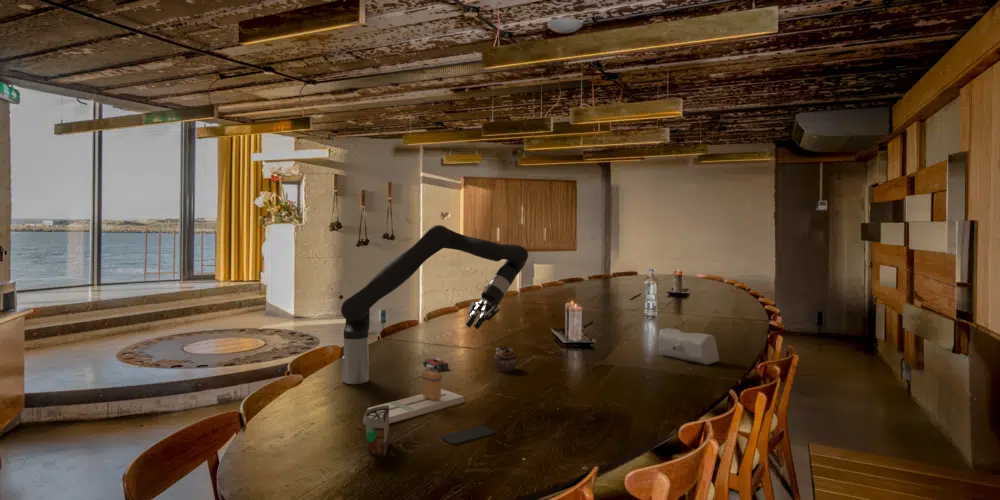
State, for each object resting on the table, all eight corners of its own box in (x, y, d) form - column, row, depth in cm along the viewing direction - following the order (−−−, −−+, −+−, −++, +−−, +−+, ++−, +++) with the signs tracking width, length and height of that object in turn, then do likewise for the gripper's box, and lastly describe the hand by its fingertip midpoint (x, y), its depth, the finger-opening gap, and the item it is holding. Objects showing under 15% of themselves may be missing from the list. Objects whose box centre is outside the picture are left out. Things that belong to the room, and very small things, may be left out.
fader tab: (430, 393, 190) (430, 370, 189) (441, 397, 185) (441, 373, 185) (422, 396, 187) (422, 372, 187) (433, 400, 183) (433, 375, 183)
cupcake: (520, 370, 230) (520, 346, 230) (501, 374, 225) (501, 349, 224) (507, 365, 238) (507, 342, 238) (488, 369, 232) (488, 345, 232)
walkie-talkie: (418, 366, 238) (437, 377, 221) (418, 356, 238) (437, 366, 221) (437, 364, 242) (456, 374, 225) (436, 354, 242) (456, 363, 225)
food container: (367, 440, 154) (366, 405, 154) (389, 440, 155) (389, 404, 154) (359, 459, 142) (359, 420, 142) (383, 458, 142) (383, 420, 142)
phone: (496, 432, 160) (452, 444, 150) (496, 435, 160) (452, 447, 151) (481, 425, 165) (438, 436, 156) (481, 427, 166) (438, 438, 156)
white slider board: (441, 394, 197) (441, 388, 197) (463, 402, 188) (463, 396, 188) (367, 414, 176) (367, 407, 176) (388, 423, 167) (388, 417, 167)
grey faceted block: (650, 357, 254) (650, 330, 253) (670, 352, 264) (670, 326, 264) (700, 368, 235) (700, 338, 234) (719, 362, 245) (720, 334, 244)
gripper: (477, 282, 209) (453, 317, 201) (504, 285, 199) (479, 322, 191) (488, 295, 213) (464, 330, 205) (514, 298, 203) (490, 335, 195)
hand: (471, 326), depth 198 cm, fingers open, 3 cm apart
